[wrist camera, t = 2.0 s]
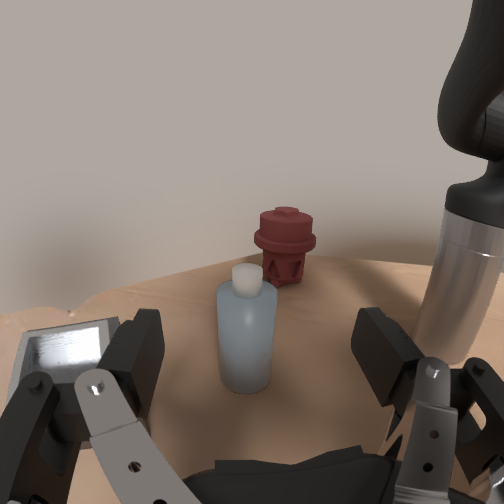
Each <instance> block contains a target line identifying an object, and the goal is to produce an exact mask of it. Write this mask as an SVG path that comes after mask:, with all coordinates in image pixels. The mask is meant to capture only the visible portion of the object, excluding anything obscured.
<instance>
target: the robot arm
mask: <svg viewBox="0 0 504 504" xmlns="http://www.w3.org/2000/svg"><path fill="white" fill-rule="evenodd" d="M437 117H438V127H439V130H440V134H441V136H442V137H443V139H444V141H445V142H446V143H447V144H448V145H449V146H450V147H452V148H454V149H455V150H458V151H460V152H463V153H466V154H469V155H472V156H476V157H479V158H483V159H486V160H488V165H487V170H486V172H485V174H484V175H483V176H482V177H480V178H478V179H476V180H474V181H471V182H466V183H459V184H453V185H451V186H450V187H449V188H448V191H447V195H446V201H445V209H444V215H443V221H442V226H441V232H440V237H439V243H438V247H437V252H436V255H435V260H434V264H433V268H432V271H431V275H430V279H429V282H428V286H427V289H426V293H425V296H424V299H423V302H422V305H421V308H420V311H419V314H418V317H417V320H416V323H415V326H414V328H413V331H412V334H411V338H409V336H408V335H407V334H406V332H404V330H403V329H402V328H401V326H400V325H399V324H398V323H397V322H395V321H393V320H392V319H390V318H389V317H386V315H385V314H384V313H383V312H382V311H381V310H380V308H378V307H369V308H361V309H360V310H359V312H358V315H357V319H356V323H355V327H354V330H353V334H352V338H351V349H352V352H353V354H354V356H355V358H356V360H357V361H358V363H359V365H360V367H361V369H362V371H363V372H364V374H365V376H366V378H367V380H368V382H369V384H370V385H371V387H372V389H373V391H374V393H375V395H376V397H377V399H378V401H379V403H380V404H381V406H382V407H384V406H388V405H392V404H393V405H394V407H395V408H394V409H393V411H392V413H391V417H390V420H389V423H388V426H387V430H386V433H385V436H384V439H383V442H382V444H381V447H380V449H379V451H378V453H377V454H367V453H363V451H362V448H361V446H360V445H358V446H354V447H349V448H345V449H340V450H335V451H329V452H326V453H324V454H321V455H319V456H316V457H314V458H311V459H309V460H306V461H303V462H300V463H298V464H293V465H288V464H278V463H270V462H263V461H257V460H215V469H211V470H206V471H203V472H199V473H197V474H194V475H191V476H189V477H187V478H185V479H183V480H181V479H180V477H179V476H178V475H177V474H176V472H175V471H174V470H173V468H172V467H171V466H170V464H169V463H168V462H167V460H166V459H165V458H164V456H163V455H162V453H161V452H160V451H159V449H158V448H157V446H156V445H155V443H154V442H153V440H152V439H151V437H150V436H149V434H148V433H147V431H146V429H145V428H144V426H143V425H142V423H141V422H140V420H137V417H139V418H146V419H147V418H148V414H149V410H150V406H151V402H152V398H153V394H154V390H155V386H156V383H157V379H158V375H159V372H160V368H161V364H162V361H163V357H164V351H165V344H164V337H163V331H162V324H161V318H160V312H159V310H157V309H139V310H138V312H137V314H136V316H135V317H134V319H133V321H132V320H126V321H125V322H124V323H123V324H121V325H120V326H119V327H118V328H117V330H116V332H115V333H114V335H113V337H112V339H111V341H110V342H109V343H110V344H108V346H107V348H106V350H105V352H104V353H103V355H102V357H101V359H100V361H99V363H98V365H97V367H96V369H91V370H88V371H85V372H83V373H82V374H81V375H80V376H79V377H78V378H77V379H76V381H75V383H58V384H54V382H53V380H52V378H51V376H50V375H49V374H47V373H45V372H41V371H37V372H32V373H30V374H28V375H26V376H25V377H24V378H23V379H22V380H21V382H20V383H19V385H18V387H17V388H16V390H15V392H14V394H13V395H12V397H11V399H10V401H9V403H8V404H7V406H6V408H5V410H4V412H3V414H2V416H1V418H0V504H67V499H68V494H69V490H70V485H71V481H72V477H73V473H74V469H75V465H76V461H77V458H78V454H79V450H80V447H81V443H82V441H90V442H91V445H92V447H93V449H94V452H95V454H96V456H97V458H98V460H99V463H100V465H101V467H102V469H103V471H104V473H105V475H106V477H107V479H108V481H109V483H110V484H111V486H112V488H113V490H114V492H115V493H116V495H117V497H118V499H119V500H120V502H121V504H504V382H503V381H502V379H501V378H500V377H499V376H498V374H497V373H496V372H495V371H494V370H493V368H492V367H491V366H490V365H489V364H488V363H487V362H486V361H484V360H483V359H480V358H476V357H472V358H469V359H468V360H467V361H466V363H465V364H464V366H463V368H462V369H450V368H449V367H448V365H447V364H455V363H458V362H461V361H462V360H463V359H464V358H465V357H466V355H467V353H468V351H469V349H470V347H471V345H472V343H473V341H474V339H475V337H476V335H477V333H478V331H479V328H480V326H481V324H482V321H483V319H484V317H485V314H486V312H487V309H488V307H489V304H490V301H491V299H492V296H493V293H494V290H495V287H496V284H497V281H498V278H499V275H500V271H501V268H502V264H503V261H504V0H473V3H472V8H471V13H470V18H469V22H468V26H467V30H466V33H465V36H464V39H463V41H462V43H461V46H460V48H459V51H458V53H457V55H456V57H455V60H454V62H453V64H452V66H451V69H450V70H449V73H448V75H447V77H446V80H445V82H444V85H443V88H442V91H441V94H440V99H439V104H438V116H437ZM411 339H412V340H411ZM475 401H476V403H477V404H478V406H479V407H480V408H481V410H482V411H483V413H484V415H485V417H486V425H485V427H484V428H483V430H482V431H481V429H480V428H479V426H478V424H477V423H476V421H475V419H474V418H473V416H472V415H471V413H470V412H469V410H470V408H471V407H472V406H473V404H474V403H475ZM454 453H455V455H456V457H457V459H458V461H459V463H460V465H461V467H462V469H463V471H464V473H465V475H466V478H467V480H468V482H469V484H470V492H469V493H468V494H467V495H466V494H464V493H462V492H459V491H457V490H454V489H452V488H450V487H449V484H450V479H451V473H452V467H453V460H454Z"/></svg>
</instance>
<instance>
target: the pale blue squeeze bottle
mask: <svg viewBox="0 0 504 504" xmlns="http://www.w3.org/2000/svg"><path fill="white" fill-rule="evenodd" d="M262 276H263V269H262V267H261V266H259V265H256V264H252V263H242V264H238V265H235V266H234V267H233V268H232V280H229V281H226V282H224V283H222V284H221V285H220V286H219V287H218V288H217V292H216V294H217V319H218V340H219V359H220V375H221V381H222V383H223V384H224V386H225V387H226V388H228V389H229V390H231V391H233V392H236V393H240V394H251V393H256V392H258V391H260V390H262V389H264V388H265V387H266V386H267V384H268V383H269V380H270V372H271V362H272V352H273V341H274V330H275V319H276V307H277V295H278V292H277V289H276V288H275V287H274V286H273V285H272V284H270V283H268V282H266V281H263V280H262Z"/></svg>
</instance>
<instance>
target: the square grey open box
mask: <svg viewBox="0 0 504 504" xmlns="http://www.w3.org/2000/svg"><path fill="white" fill-rule="evenodd" d="M119 326H120V322H119V318H118V316H117V317H112V318H106V319H100V320H94V321H88V322H82V323H76V324H70V325H64V326H57V327H50V328H44V329H37V330H29V331H27V332H24V333H22V337H21V340H20V343H19V347H18V350H17V354H16V358H15V362H14V366H13V370H12V375H11V380H10V384H9V390H8V395H7V401H6V406H7V404H8V403H9V401H10V399H11V397H12V395H13V394H14V392H15V390H16V388H17V387H18V385H19V383H20V382H21V380H22V379H23V378H24V377H25V376H26V375H28V374H30V373H32V372H37V371H41V372H45V373H47V374H49V375H50V376H51V378H52V380H53V382H54V384H58V383H75V381H76V379H77V378H78V377H79V376H80V375H81V374H82V373H83V372H85V371H88V370H91V369H96V367H97V365H98V363H99V361H100V359H101V357H102V355H103V353H104V352H105V350H106V348H107V346H108V344H110V343H109V342H110V341H111V339H112V337H113V335H114V333H115V332H116V330H117V328H118V327H119ZM137 420H140V422H141V423H142V425H143V426H144V428H145V429H146V431H147V433H148V434H149V431H148V428H147V425H146V422H145V419H144V418H139V417H137ZM149 436H150V434H149ZM89 448H93V447H92V445H91V442H90V441H82V443H81V447H80V449H89Z"/></svg>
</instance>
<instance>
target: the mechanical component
mask: <svg viewBox="0 0 504 504" xmlns="http://www.w3.org/2000/svg"><path fill="white" fill-rule="evenodd" d="M312 222H313V218H312V217H311V216H310V215H308V214H305V213H302V212H299V210H298V209H297V208H292V207H277V208H275V210H272V211H266V212H263V213H262V214H260V229H259V230H257V231H256V232H255V234H254V243H255V244H256V245H257V246H258V247H259V248H261V249H263V256H264V259H263V266H262V269H263V274H264V275H265V276H267V277H269V278H270V284H272V285H273V286H274V287H279V286H282V285H285V284H290V283H300V282H301V280H302V275H303V268H304V262H305V253H306V252H309V251H311V250H312V249H313V248H315V245H316V237H315V235H314V234H312Z"/></svg>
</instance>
